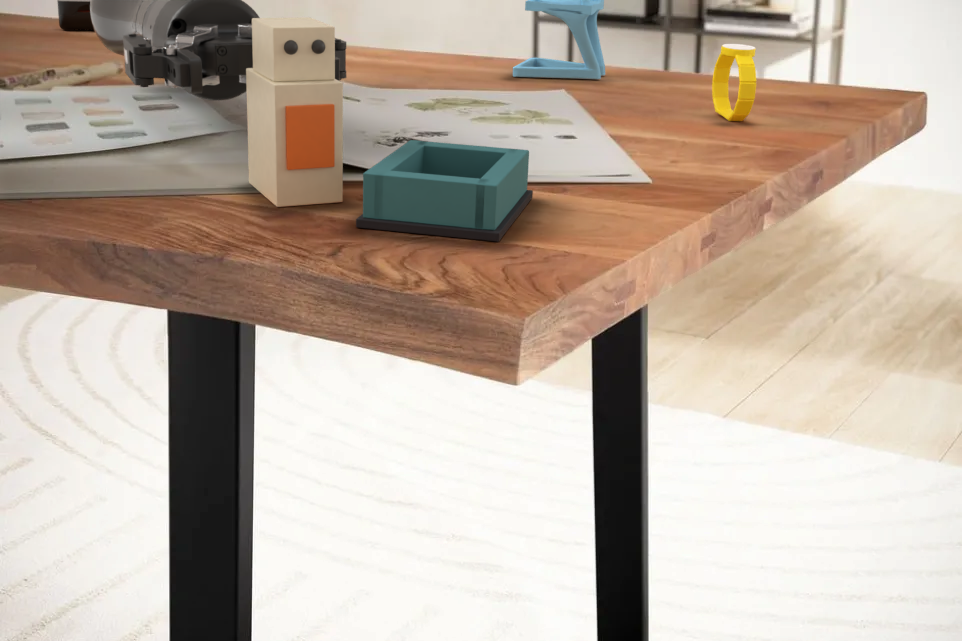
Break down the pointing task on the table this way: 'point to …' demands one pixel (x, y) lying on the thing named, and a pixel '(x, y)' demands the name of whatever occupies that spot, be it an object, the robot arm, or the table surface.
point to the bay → (446, 190)
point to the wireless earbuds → (74, 15)
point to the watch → (746, 80)
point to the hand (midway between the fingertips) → (265, 74)
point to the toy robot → (294, 112)
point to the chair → (578, 10)
